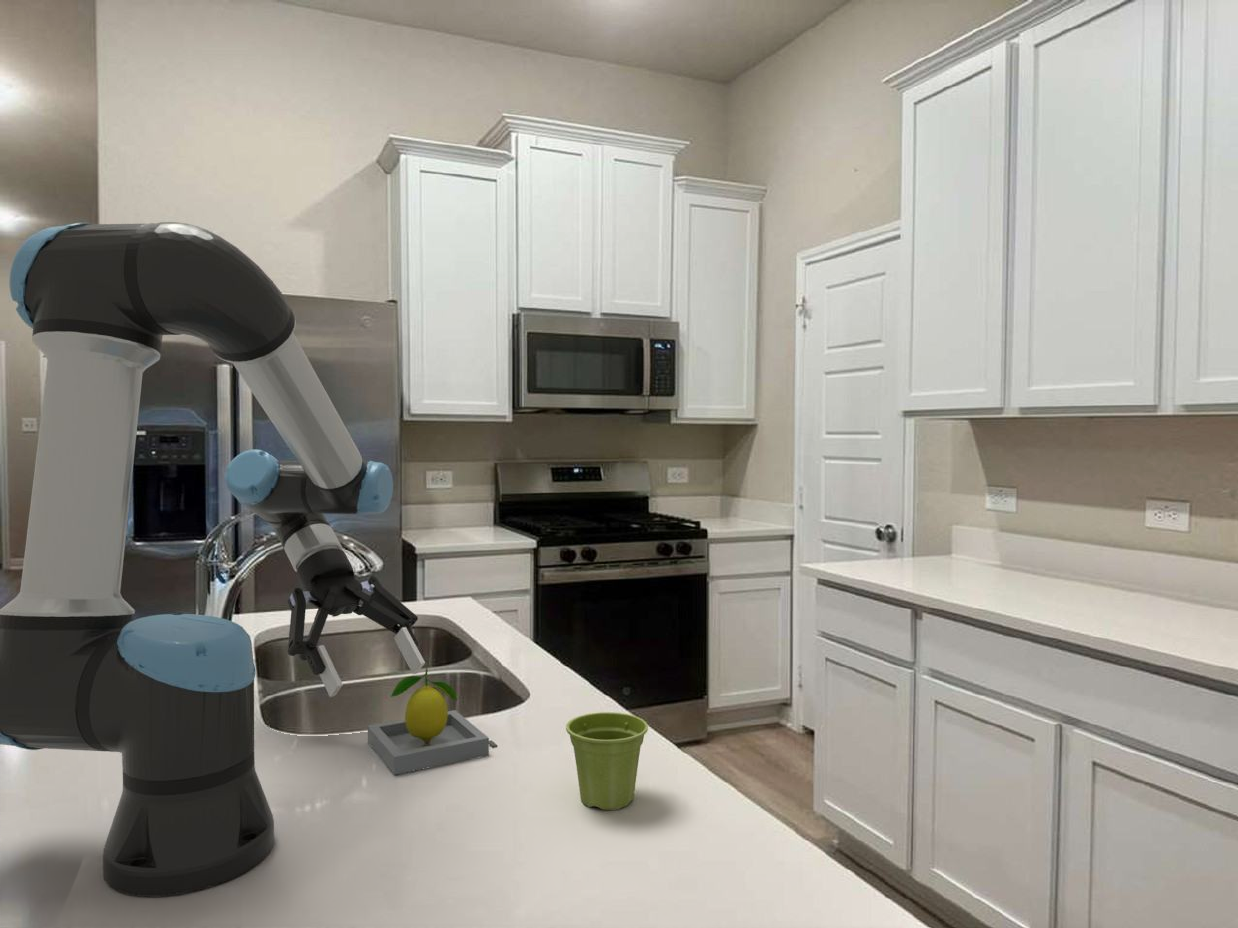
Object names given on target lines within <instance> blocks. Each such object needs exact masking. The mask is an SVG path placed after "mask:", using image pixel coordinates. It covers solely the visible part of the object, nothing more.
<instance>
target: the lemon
mask: <svg viewBox="0 0 1238 928" xmlns="http://www.w3.org/2000/svg"><path fill="white" fill-rule="evenodd" d="M422 678H424V681H425V682H424V683H425V684H424V685H423V686H422V687H420V688H418V689H417V690H415V691H414V692H413V693H412V694H411V696H410V697H409V700H408V702H407V705H406V708H405V713H404V719H405V723H406V727H407V729H408V731H409V733H410V734H411V735H412V736H414V737H416V738H420V739H422V740H423V741H424V742H425V743H429V742H430V741H431V739H432V738H434V737H436V736H438V735H439V734H440V733H441V732H442V731H443V730H444V728H445V726H446V723H447V716H448V711H449V710H448V706H447V701H446V699H445V696H444V695H446V696H448V697H449V698H450V699H452V700H454V701H456V702H458V698H457V695H456V692H455V691H454V689H453V688H452V686H450V685H449V684H448V683H447V682H444V681H431V680H429V679H428V667H426V668H425V674H423V675H422V676H415V675H410V676H408V677H404V678H402V679H401V680H400V681H399V682H398V683H397V685H396V686H395V688H394V689H393V691H392V693H391V695H390V698H392V697H397V696H399V695H402V694H403V693H405V692H406V691H408V690H410V688H412V687H413V686H414V685H416V684H417V683H419V682H420V680H421V679H422ZM428 682H429V683H431V684H432V685H433V686H431V685H430V684H428ZM443 694H444V695H443Z"/></svg>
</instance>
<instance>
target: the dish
mask: <svg viewBox="0 0 1238 928" xmlns="http://www.w3.org/2000/svg"><path fill="white" fill-rule="evenodd" d="M447 711H448V716H447V723H446V726H445V728H444V730H443V731H442V732H441V733H440V734H439V735H438V736H436V737H434V738H432V739H431V741H430V742H429V743H425V742H424V741H423V740H422V739H420V738H416V737H414V736H412V735H411V734H410V733H409V731H408V729H407V727H406V723H405V718H403V719H398V720H392V721H388V722H386V721H385V722H382V723H376V724H370V725H369V724H368V725H367V744H368V745H369V744H370V745H371V746H372V747H371V746H370V745H369V746H370V747H371V749H372V750H373V749H374V750H375V751H376V752H375V751H374V750H373V751H374V752H375V754H376V755H377V754H378V755H379V756H380V757H379V756H378V755H377V756H378V757H379V759H380V760H381V759H382V760H381V761H382V763H384V765H385V764H386V765H387V766H386V765H385V766H386V767H387V768H388V767H389V768H390V769H389V768H388V769H389V771H390V770H391V771H392V772H391V771H390V772H391V773H392V775H394V776H397V775H396V774H399V775H402V774H401V773H403V774H406V773H405V772H408V773H412V772H411V771H413V770H417V771H420V770H419V769H422V770H424V769H423V768H427V767H432V768H436V767H439V766H440V765H441V766H444V764H446V765H449V763H450V764H455V763H460V762H463V761H469V760H473V759H477V758H482V757H487V755H488V756H489V755H490V751H489V750H490V745H489V741H490V738H489V737H488V736H487V735H486V734H485V733H484V732H483V731H481V730H480V729H479V728H477V726H475V725H474V724H472V722H470V721H469V720H468V719H467V718H465V716H463V715H462V714H461V713H459V712H458V711H457V710H455V709H454V710H447ZM483 733H484V734H483ZM454 762H455V763H454ZM427 769H428V768H427ZM413 772H414V771H413Z"/></svg>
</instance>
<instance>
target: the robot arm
mask: <svg viewBox="0 0 1238 928" xmlns="http://www.w3.org/2000/svg"><path fill="white" fill-rule="evenodd" d="M9 292H10V296H11V297H10V298H11V299H12V301H13V302H16V303H17V306H16V308H15V311H16V312H17V314H18V316H19V317H20V318H21V320H22V321H23V322H24V323H25V324H26V325H27V326H28V327H29V328H30V329H32V336H31V342H32V343H33V345H34V346H36V348H37V349H38V350H39V351H40V352H41V353H42V354H43V355H44V356H45V358H46V360H47V363H46V371H45V381H44V388H43V395H42V405H41V411H40V412H41V413H40V422H39V431H38V438H37V448H36V457H35V464H34V473H33V483H32V489H31V498H30V506H29V513H28V521H27V522H28V523H27V531H26V540H25V548H24V555H23V556H24V557H23V564H22V573H21V583H20V590H19V593H18V594H17V595H16V596H15V597H14V598H13V599H12V600H10V601H9V602H8V603H7V604H5V605H4V606H3V607H1V608H0V745H4V746H11V747H12V746H13V747H16V748H20V749H25V750H29V751H38V750H42V749H45V750H46V749H49V750H50V749H53V750H68V751H69V750H71V751H85V752H86V751H89V752H109V753H121V763H122V766H121V767H122V768H121V769H122V793H121V795H120V799H119V802H118V804H117V807H116V811H115V814H114V815H113V816H114V817H113V819H112V823H111V825H110V829H109V830H108V831H109V832H108V834H107V837H106V841H105V844H104V847H103V851H102V878H103V881H104V882H105V883H106V885H107V886H108V887H109V888H111V889H113V890H114V891H117V892H119V893H122V894H126V895H131V896H138V897H139V896H140V897H141V896H142V897H162V896H163V897H164V896H165V897H166V896H173V895H178V894H179V895H181V894H185V893H190V892H195V891H199V890H203V889H206V888H210V887H213V886H216V885H219V884H222V883H225V882H227V881H229V880H232V879H233V878H236V877H238V876H240V875H242V874H244V873H246V872H247V871H249V870H251V869H253V868H254V867H256V866H257V865H258V864H260V863H261V861H263V860H264V859H265V858H267V856H268V855H269V853H270V852H271V851H272V849H273V847H274V843H275V822H274V819H275V818H274V814H273V812H272V809H271V806H270V805H269V802H268V800H267V797H266V794H265V792H264V789H263V787H262V784H261V782H260V779H259V776H258V773H257V772H256V766H255V677H256V672H257V671H256V666H255V663H254V662H255V661H254V654H253V653H254V652H253V643H252V639H251V636H250V634H249V633H248V632H247V631H246V630H245V628H244V627H243V626H241V625H240V624H239V623H236V622H234V621H232V620H229V619H226V618H222V617H217V616H212V615H205V614H195V613H182V614H172V613H170V614H169V613H166V614H165V613H164V614H155V615H149V616H145V617H140V618H137V619H135V612H136V610H135V609H134V607H132V606H131V605H130V604H129V602H127V601H126V600H125V599H124V598H123V596H122V594H121V587H122V576H123V568H124V557H125V550H126V549H125V547H126V539H127V529H128V518H129V509H130V499H131V491H132V490H131V489H132V488H131V487H132V480H133V470H134V460H135V450H136V441H137V432H138V431H137V429H138V423H139V422H138V421H139V411H140V402H141V395H142V394H141V393H142V383H143V382H142V381H143V373H144V372H145V371H146V369H148V368H150V367H151V366H153V365H154V364H155V363H157V362H159V361H160V360H161V355H162V345H163V337H164V336H180V335H186V336H192V337H195V338H197V339H200V340H202V341H203V342H205V343H206V344H208V346H209V347H210V349H211V351H212V352H213V354H215V356H216V357H217V358H219V359H220V360H222V361H225V362H227V363H230V364H233V366H234V368H235V369H236V371H237V372H238V373H239V375H240V377H241V378H242V380H243V381H244V383H245V384H246V386H247V387H248V389H250V392H251V394H253V396H254V397H255V399H256V400H257V402H258V403H259V405H260V406H261V408H262V409H263V411H264V412H265V414H266V415H267V417H268V418H269V420H270V422H272V424H273V426H274V427H275V429H276V430H277V433H279V435H280V436H281V438H282V439H283V441H284V442H285V444H286V445H287V446H288V448H289V449H290V451H291V453H292V454H293V456H294V457H295V458H296V460H297V461H296V460H293V461H292V460H291V461H290V460H288V461H287V460H282V461H281V460H278V459H277V458H276V457H274V456H273V455H272V454H270V453H268V452H266V451H264V450H262V449H255V448H254V449H249V450H246V451H243V452H241V453H239V454H237V455H236V456H235V457H234V458H232V460H231V461H230V462H229V463H228V465H227V468H226V471H225V473H224V484H225V486H226V489H227V490H228V492H229V493H230V494H231V495H233V496H234V498H235V499H236V500H237V502H238V503H239V504H241V505H243V506H245V507H246V508H247V509H249V510H250V511H251V512H253V513H254V514H255V515H257V516H258V517H259V518H260V519H261V520H263V521H264V522H265V523H266V524H267V525H269V526H271V528H272V530H274V533H275V534H276V536H277V537H278V539H279V542H280V544H281V545H282V548H283V549H284V552H285V554H286V556H287V558H288V560H289V561H290V564H291V566H292V569H293V570H294V572H296V577H297V579H298V581H299V583H300V585H301V586H302V588H303V589H301V588H300V587H295V589H293V591H292V593H291V594H290V596H289V598H288V600H287V602H288V605H289V609H290V620H289V621H290V622H289V631H288V632H289V633H288V642H287V654H288V655H289V656H291V657H295V655H299V659H300V660H302V661H307V664H308V666H309V668H310V670H311V671H312V672H311V673H313V674H314V675H315V676H317V675H319V677H320V680H321V681H322V683H323V685H324V687H325V690H326V692H327V694H328V696H329V698H332V697H336V696H337V694H338V692H339V691H340V690H341V688H342V687H343V686H344V684H343V683H342V680H341V677H340V676H339V674H338V672H337V670H336V668H335V667H336V666H334V664H333V661H332V659H331V656H329V653H328V651H327V648H326V647H325V645H324V644H322V645H318V643H319V640H320V637H321V635H322V632H323V629H324V627H325V624H326V621H327V619H328V617H329V616H332V617H333V618H334V617H338V616H340V615H351V614H352V613H354V614H356V615H358V616H363V617H366V618H368V619H369V620H371V621H372V622H375V623H376V624H378V625H380V626H381V627H383V628H385V629H386V630H388V631H390V632H391V633H393V634H395V636H394V638H393V639H394V641H395V643H396V646H397V647H398V648H399V651H400V653H401V654H402V656H403V658H404V660H405V662H406V664H407V666H408V668H409V670H410V671H411V673H412V675H416V674H418V673H419V672H420V670H421V669H422V668H423V667H424V665H425V664H426V662H425V660H424V658H423V655H422V654H421V652H420V650H419V648H418V647H419V641H418V640H417V638H416V636H415V634H414V632H413V631H412V628H413V626H415V624H416V623H417V621H418V619H419V618H418V615H416V614H415V613H414V612H413V611H412V610H410V609H409V608H408V607H407V606H406V605H404V604H403V603H402V602H401V601H400V600H398V599H397V598H396V597H395V596H394V595H393V594H392V593H390V592H389V591H388V590H387V589H385V588H384V587H383V585H382V584H381V583H380V580H379V579H378V578H377V577H376V576H373V575H371V576H370V577H369V578H368V580H366V581H362V582H360V581H359V580H358V579H357V578H356V577H355V572H354V568H353V566H352V564H351V562H350V560H349V559H348V555H347V554H346V552H345V551H344V550H343V546H342V545H341V542H340V541H339V538H338V537H337V535H336V533H335V531H334V530H333V528H332V526H331V525H330V522H329V521H328V519H327V517H326V515H325V514H327V515H352V516H353V515H356V516H361V515H377V514H378V515H379V514H382V513H384V512H385V511H386V510H387V509H388V508H389V506H390V503H391V501H392V499H393V493H394V482H393V474H392V472H391V469H390V467H389V466H388V465H387V464H384V462H379V461H378V462H377V461H376V462H375V461H373V460H369V461H365V460H364V458H363V455H362V454H361V453H360V451H359V449H358V447H357V446H356V444H355V441H353V440H354V439H352V437H351V435H350V433H349V431H348V429H347V427H346V426H345V423H344V422H343V420H342V418H341V416H340V415H339V413H338V411H337V409H336V407H335V406H334V404H333V402H332V400H331V399H330V396H329V395H328V393H327V391H326V389H325V387H324V385H323V383H322V382H321V380H320V378H319V377H318V375H317V372H316V371H315V369H314V368H313V366H312V364H311V362H310V360H309V358H308V357H307V354H306V353H305V351H304V349H303V348H302V346H301V344H300V342H299V340H298V338H297V337H296V335H295V333H294V332H295V330H296V328H297V327H296V326H297V324H296V323H297V321H296V317H295V313H294V312H293V311H292V309H291V307H290V304H289V303H288V301H287V300H286V298H285V296H284V294H283V293H282V291H281V290H280V289H279V288H278V286H277V285H276V284H275V283H274V281H273V280H272V279H271V278H270V277H269V276H268V274H266V272H265V271H264V270H263V269H262V268H261V267H260V266H259V265H258V264H257V263H256V262H255V261H254V260H253V259H251V258H250V257H249V256H247V254H245V253H244V252H243V251H242V250H240V249H239V248H238V247H237V246H235V245H234V244H232V243H231V242H229V241H228V240H226V239H224V238H223V237H221V236H219V235H218V234H215V233H213V232H212V231H209V230H207V229H205V228H202V227H200V226H196V225H194V224H189V223H184V222H177V221H176V222H175V221H163V222H158V223H154V222H153V223H108V224H107V223H103V224H102V223H100V224H99V223H98V224H95V223H91V222H76V223H75V222H74V223H69V224H67V225H59V226H57V225H56V226H51V227H47V228H43V229H41V230H39V231H38V232H37V233H34V234H32V235H30V236H29V237H28V238H27V239H26V240H25V241H23V242H22V244H21V245H20V247H19V249H18V250H17V252H16V253H15V255H14V258H13V260H12V263H11V266H10V272H9ZM360 601H361V602H363V603H362V604H361V605H359V604H360ZM308 602H309V603H310V604H311V605H312V606H315V607H316V608H318V609H317V611H316V613H315V617H314V620H313V623H312V625H311V627H310V630H309V632H308V635H307V638H306V639H305V640H304V634H305V622H306V609H307V604H308ZM317 645H318V646H317Z"/></svg>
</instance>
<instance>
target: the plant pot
mask: <svg viewBox="0 0 1238 928" xmlns="http://www.w3.org/2000/svg"><path fill="white" fill-rule="evenodd" d="M648 729H649V725H648V723H647V721H645V719H642V718H641V717H638V716H637V715H633V714H629V713H622V712H615V711H613V712H610V711H609V712H608V711H606V712H605V711H604V712H603V711H602V712H601V711H600V712H592V713H585V714H582V715H581V714H580V715H579V716H576V717H574V718H572V719H570V720H569V721H568V722H567V723H566V725H565V730H566V732H567V734H568V735H569V737H570V743H571V745H572V747H573V753H574V757H575V758H574V760H575V765H576V774H577V779H578V788H579V795H580V801H581V803H583V804H584V805H585V806H587V807H589V808H590V807H591V808H592V807H597V808H599V809H600V810H605V811H611V810H618V809H622V808H625V807H627V806H629V804H630V803H631V801H633V800H634V796H635V790H636V784H637V783H636V782H637V775H638V770H639V769H638V768H639V761H640V752H641V747H642V744H643V743H644V737H645V735H646V733H647V732H648Z"/></svg>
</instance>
